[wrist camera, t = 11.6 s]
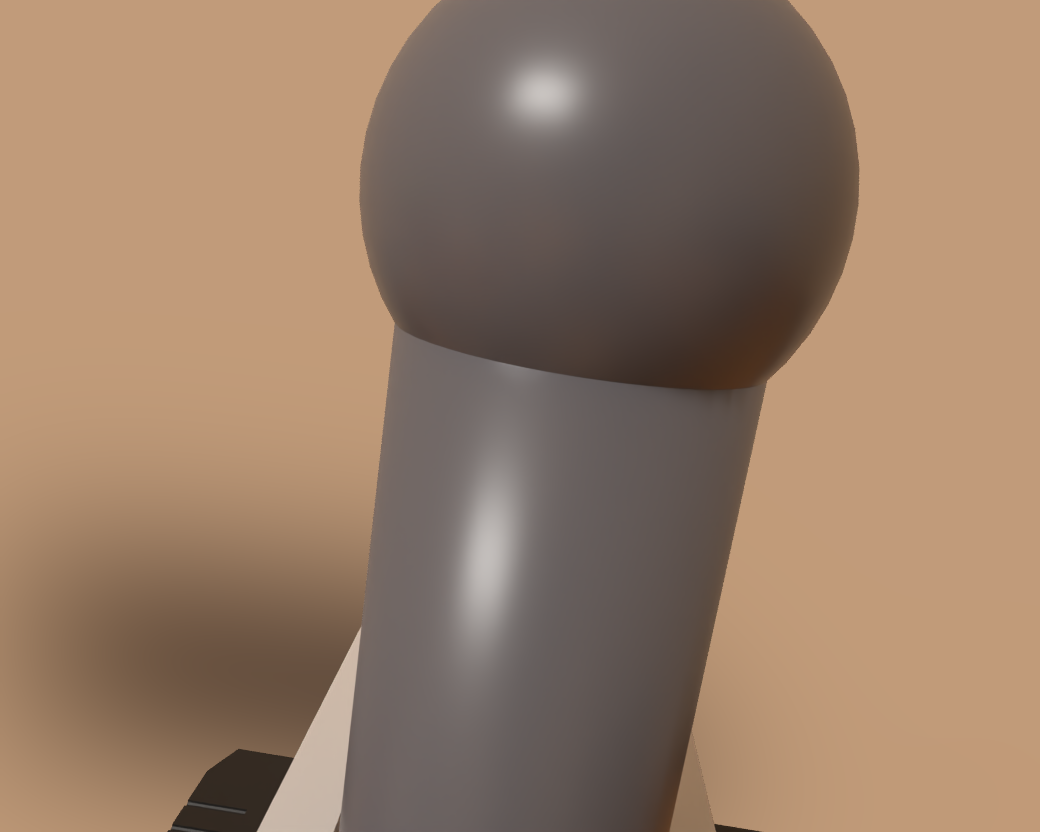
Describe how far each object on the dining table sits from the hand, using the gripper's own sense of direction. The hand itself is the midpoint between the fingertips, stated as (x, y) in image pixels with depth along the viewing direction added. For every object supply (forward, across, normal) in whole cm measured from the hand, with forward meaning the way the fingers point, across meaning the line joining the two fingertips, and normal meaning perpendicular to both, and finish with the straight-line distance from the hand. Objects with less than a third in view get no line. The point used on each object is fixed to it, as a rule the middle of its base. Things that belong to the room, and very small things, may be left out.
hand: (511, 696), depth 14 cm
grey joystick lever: (-5, 0, -10) cm, 12 cm away
